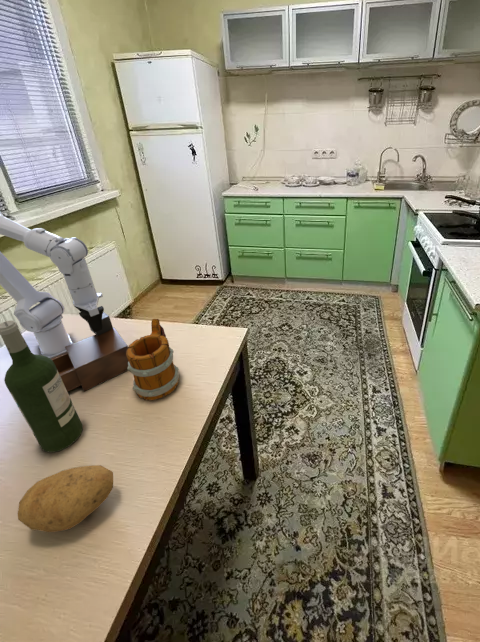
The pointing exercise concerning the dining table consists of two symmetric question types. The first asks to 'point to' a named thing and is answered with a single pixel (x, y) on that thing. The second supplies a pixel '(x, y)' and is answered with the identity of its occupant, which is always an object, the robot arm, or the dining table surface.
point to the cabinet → (98, 358)
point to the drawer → (66, 371)
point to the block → (104, 325)
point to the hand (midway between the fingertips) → (95, 326)
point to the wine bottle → (39, 393)
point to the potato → (65, 498)
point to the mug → (152, 364)
